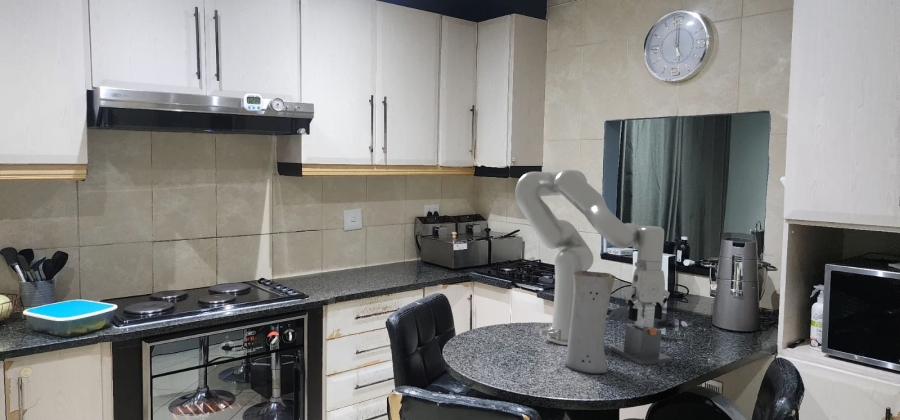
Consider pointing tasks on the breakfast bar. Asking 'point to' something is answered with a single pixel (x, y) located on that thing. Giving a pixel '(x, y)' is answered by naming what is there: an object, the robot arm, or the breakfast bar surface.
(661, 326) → the dark slate chunk
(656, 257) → the robot arm
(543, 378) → the breakfast bar surface
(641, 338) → the stand
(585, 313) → the vase
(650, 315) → the column
